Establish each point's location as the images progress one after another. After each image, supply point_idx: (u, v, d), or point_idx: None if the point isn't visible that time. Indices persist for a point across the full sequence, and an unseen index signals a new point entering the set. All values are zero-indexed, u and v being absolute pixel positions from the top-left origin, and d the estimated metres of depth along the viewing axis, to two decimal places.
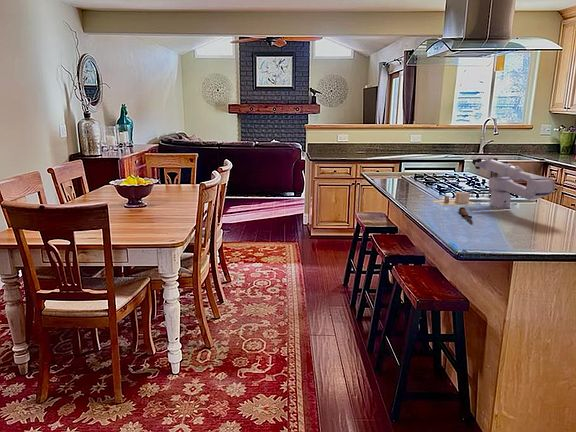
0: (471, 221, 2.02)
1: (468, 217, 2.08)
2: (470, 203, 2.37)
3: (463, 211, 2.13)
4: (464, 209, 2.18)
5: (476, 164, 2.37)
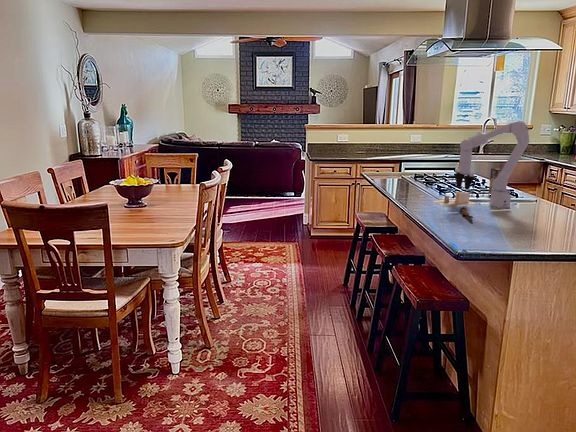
0: (472, 221, 2.02)
1: (469, 217, 2.08)
2: (470, 203, 2.37)
3: (464, 211, 2.14)
4: (465, 209, 2.18)
5: (472, 174, 2.31)
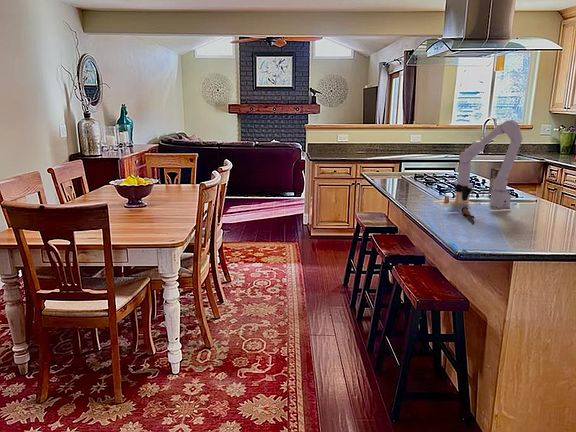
0: (473, 221, 2.03)
1: (470, 217, 2.08)
2: (470, 203, 2.37)
3: (465, 211, 2.14)
4: (467, 209, 2.18)
5: (471, 186, 2.32)
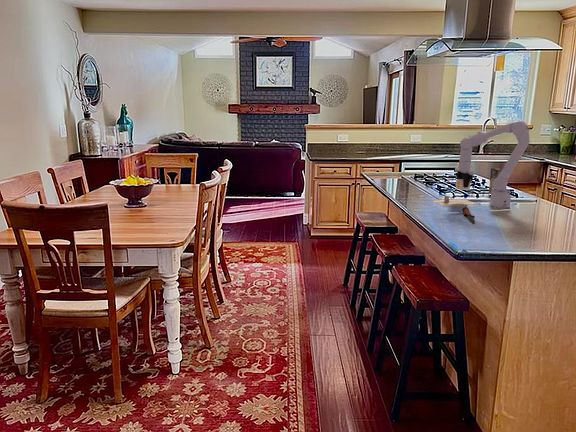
0: (473, 221, 2.03)
1: (471, 217, 2.08)
2: (470, 203, 2.37)
3: (466, 211, 2.14)
4: (467, 209, 2.19)
5: (472, 172, 2.31)
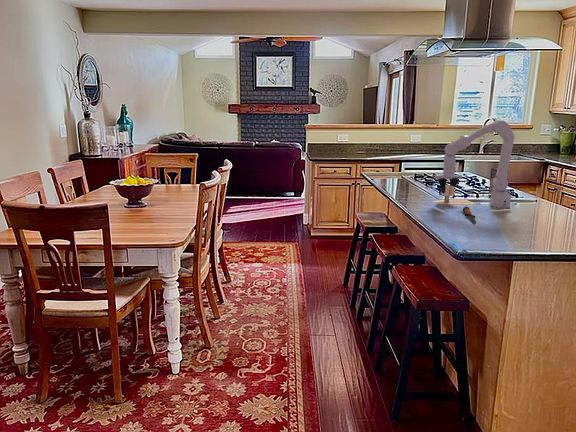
0: (474, 220, 2.03)
1: (471, 216, 2.08)
2: (470, 203, 2.37)
3: (467, 210, 2.14)
4: (468, 208, 2.19)
5: None
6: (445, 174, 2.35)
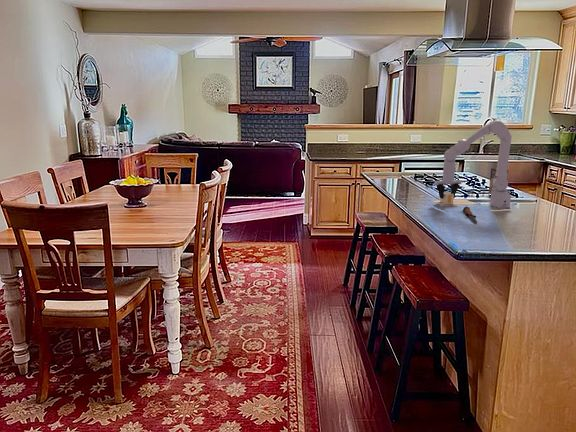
0: (475, 220, 2.03)
1: (472, 216, 2.09)
2: (470, 203, 2.37)
3: (467, 210, 2.14)
4: (468, 208, 2.19)
5: None
6: (445, 179, 2.35)
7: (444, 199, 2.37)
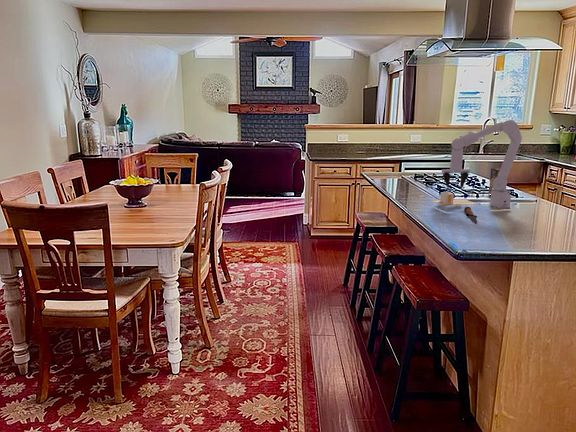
0: (475, 220, 2.03)
1: (473, 216, 2.09)
2: (470, 203, 2.37)
3: (468, 210, 2.15)
4: (469, 209, 2.19)
5: None
6: (452, 168, 2.37)
7: (444, 199, 2.37)
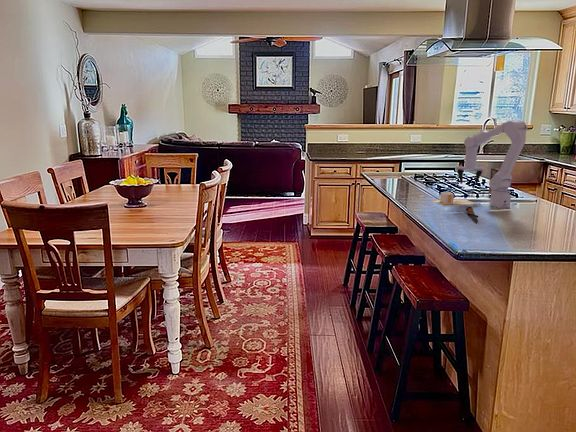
0: (476, 220, 2.04)
1: (474, 216, 2.09)
2: (470, 203, 2.37)
3: (470, 210, 2.15)
4: (471, 208, 2.19)
5: (484, 169, 2.41)
6: None
7: (444, 199, 2.37)
